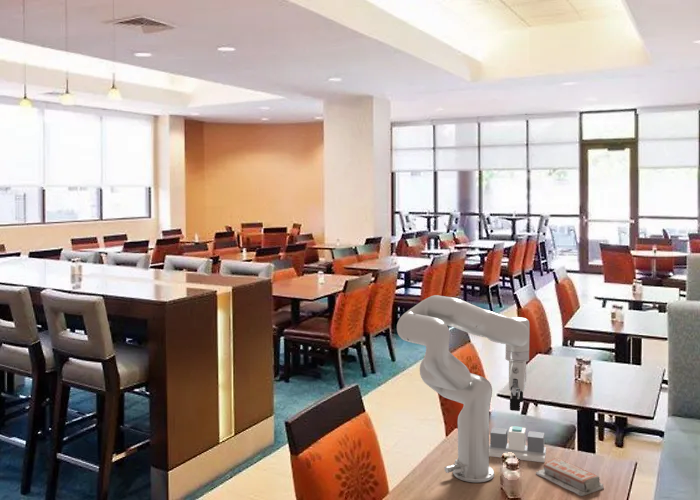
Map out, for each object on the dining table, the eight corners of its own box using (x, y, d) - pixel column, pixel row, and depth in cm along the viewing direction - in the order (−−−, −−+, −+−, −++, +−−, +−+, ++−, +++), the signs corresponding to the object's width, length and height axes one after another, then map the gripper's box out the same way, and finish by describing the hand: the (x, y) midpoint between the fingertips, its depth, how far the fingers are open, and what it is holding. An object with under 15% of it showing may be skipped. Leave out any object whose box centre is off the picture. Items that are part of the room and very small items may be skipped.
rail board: (488, 455, 220) (488, 434, 219) (491, 445, 228) (491, 425, 228) (544, 462, 214) (544, 440, 213) (546, 451, 222) (546, 430, 222)
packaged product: (605, 473, 195) (582, 482, 190) (605, 489, 195) (581, 498, 190) (558, 453, 210) (535, 460, 205) (557, 467, 211) (535, 475, 206)
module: (508, 449, 219) (508, 429, 219) (510, 443, 224) (510, 424, 223) (524, 450, 218) (524, 431, 217) (525, 445, 222) (525, 426, 222)
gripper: (526, 362, 208) (525, 415, 210) (531, 350, 225) (530, 399, 226) (502, 360, 211) (501, 412, 212) (508, 348, 227) (507, 397, 229)
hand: (516, 405), depth 219 cm, fingers open, 9 cm apart
